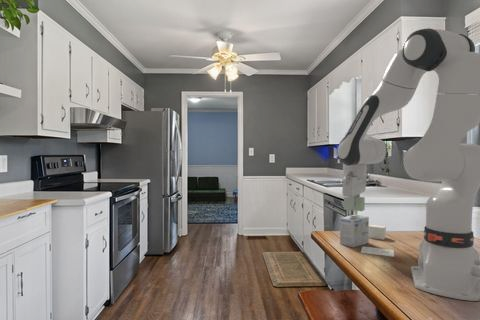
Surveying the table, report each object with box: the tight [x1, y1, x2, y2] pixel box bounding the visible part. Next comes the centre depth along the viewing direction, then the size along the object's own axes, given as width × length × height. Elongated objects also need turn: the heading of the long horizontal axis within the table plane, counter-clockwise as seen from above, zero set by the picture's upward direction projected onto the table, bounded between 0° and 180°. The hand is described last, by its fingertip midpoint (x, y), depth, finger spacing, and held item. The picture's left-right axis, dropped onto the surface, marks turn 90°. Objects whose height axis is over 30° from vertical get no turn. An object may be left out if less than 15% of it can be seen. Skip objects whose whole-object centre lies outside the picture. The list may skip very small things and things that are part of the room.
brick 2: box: [369, 224, 387, 240], centre depth 136 cm, size 4×7×5 cm, turn 55°
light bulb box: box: [339, 214, 369, 249], centre depth 126 cm, size 11×7×11 cm, turn 128°
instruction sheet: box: [360, 245, 395, 258], centre depth 116 cm, size 8×11×1 cm
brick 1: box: [343, 196, 366, 212], centre depth 126 cm, size 4×7×5 cm, turn 55°
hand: (354, 205), depth 126 cm, fingers closed on brick 1, 4 cm apart
